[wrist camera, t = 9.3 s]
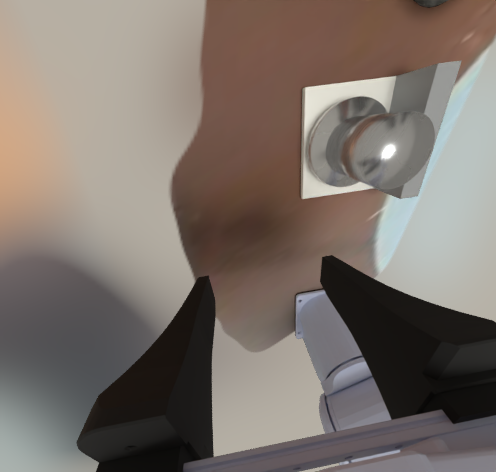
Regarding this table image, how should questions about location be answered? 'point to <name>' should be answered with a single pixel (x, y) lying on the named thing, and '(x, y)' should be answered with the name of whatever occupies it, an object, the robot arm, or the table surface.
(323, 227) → the table surface
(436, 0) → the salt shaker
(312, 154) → the pan
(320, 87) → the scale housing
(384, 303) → the robot arm
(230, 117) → the table surface
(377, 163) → the cylinder
